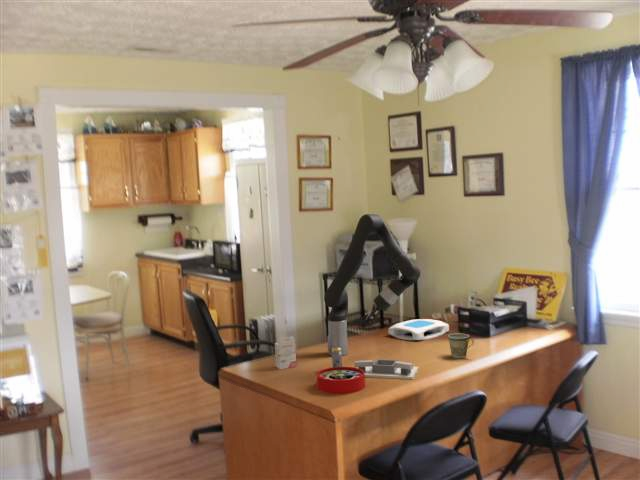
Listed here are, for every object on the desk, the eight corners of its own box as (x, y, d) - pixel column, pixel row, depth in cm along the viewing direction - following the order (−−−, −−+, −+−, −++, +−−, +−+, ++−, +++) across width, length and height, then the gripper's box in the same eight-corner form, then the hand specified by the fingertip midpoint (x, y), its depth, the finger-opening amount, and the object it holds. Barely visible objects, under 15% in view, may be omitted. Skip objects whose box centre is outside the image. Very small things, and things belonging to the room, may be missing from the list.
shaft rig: (351, 376, 291) (351, 363, 291) (360, 366, 306) (359, 354, 306) (412, 379, 283) (412, 366, 283) (418, 368, 298) (418, 356, 298)
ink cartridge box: (292, 364, 314) (290, 333, 313) (296, 366, 310) (295, 335, 308) (275, 367, 310) (274, 336, 309) (279, 369, 306) (278, 338, 304)
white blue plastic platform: (450, 333, 367) (449, 322, 366) (418, 342, 348) (417, 330, 347) (420, 328, 382) (419, 317, 382) (387, 336, 363) (387, 325, 363)
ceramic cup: (444, 357, 317) (443, 336, 316) (455, 352, 324) (454, 332, 323) (468, 361, 308) (467, 340, 307) (479, 356, 315) (478, 335, 314)
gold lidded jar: (331, 370, 301) (330, 349, 300) (334, 368, 305) (333, 346, 304) (340, 371, 300) (339, 349, 299) (343, 368, 304) (342, 347, 303)
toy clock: (315, 368, 286) (361, 365, 287) (315, 381, 286) (361, 378, 288) (318, 381, 266) (367, 378, 267) (319, 395, 267) (368, 393, 268)
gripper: (379, 290, 306) (355, 316, 307) (380, 295, 292) (355, 322, 293) (391, 301, 306) (367, 326, 307) (393, 307, 292) (368, 333, 293)
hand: (361, 324), depth 300 cm, fingers open, 8 cm apart
